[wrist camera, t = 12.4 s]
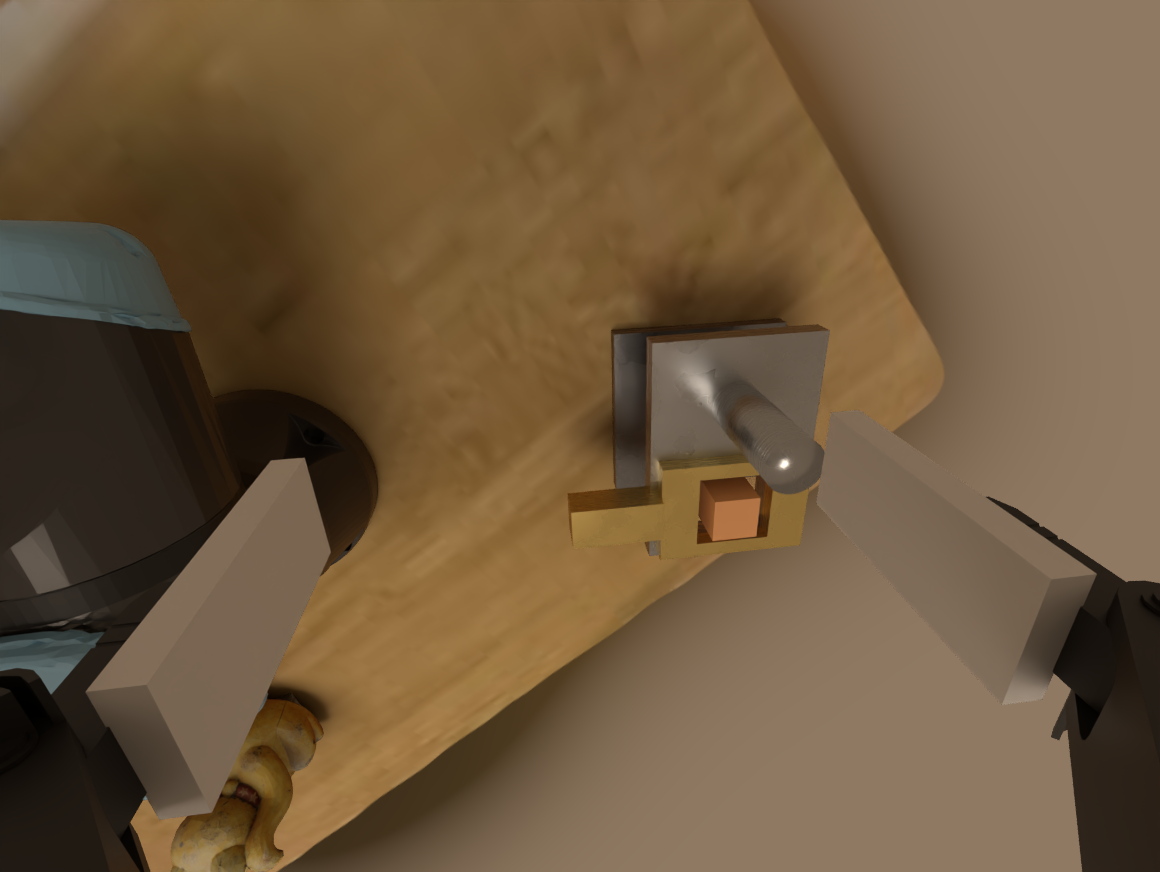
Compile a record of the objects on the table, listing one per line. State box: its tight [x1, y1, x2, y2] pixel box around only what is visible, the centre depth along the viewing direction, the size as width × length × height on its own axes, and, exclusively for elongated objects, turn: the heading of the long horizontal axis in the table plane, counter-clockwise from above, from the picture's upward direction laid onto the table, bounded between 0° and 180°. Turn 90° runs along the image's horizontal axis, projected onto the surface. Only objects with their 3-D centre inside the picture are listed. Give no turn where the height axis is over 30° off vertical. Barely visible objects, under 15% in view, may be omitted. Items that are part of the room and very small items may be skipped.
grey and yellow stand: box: [568, 319, 830, 560], centre depth 38 cm, size 18×16×17 cm
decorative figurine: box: [171, 694, 324, 872], centre depth 48 cm, size 10×8×15 cm
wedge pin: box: [698, 477, 761, 541], centre depth 42 cm, size 3×3×10 cm
